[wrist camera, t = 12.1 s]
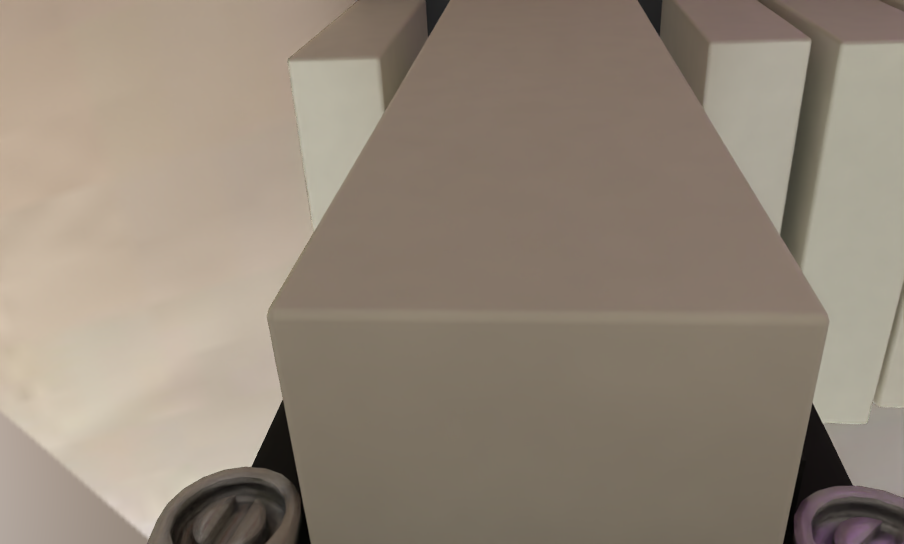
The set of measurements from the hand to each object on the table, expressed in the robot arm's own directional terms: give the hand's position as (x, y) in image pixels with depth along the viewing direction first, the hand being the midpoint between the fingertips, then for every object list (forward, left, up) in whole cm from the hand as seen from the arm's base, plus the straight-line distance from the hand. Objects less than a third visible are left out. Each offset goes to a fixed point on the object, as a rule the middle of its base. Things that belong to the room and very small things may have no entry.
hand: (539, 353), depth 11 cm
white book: (0, 0, -6) cm, 6 cm away
